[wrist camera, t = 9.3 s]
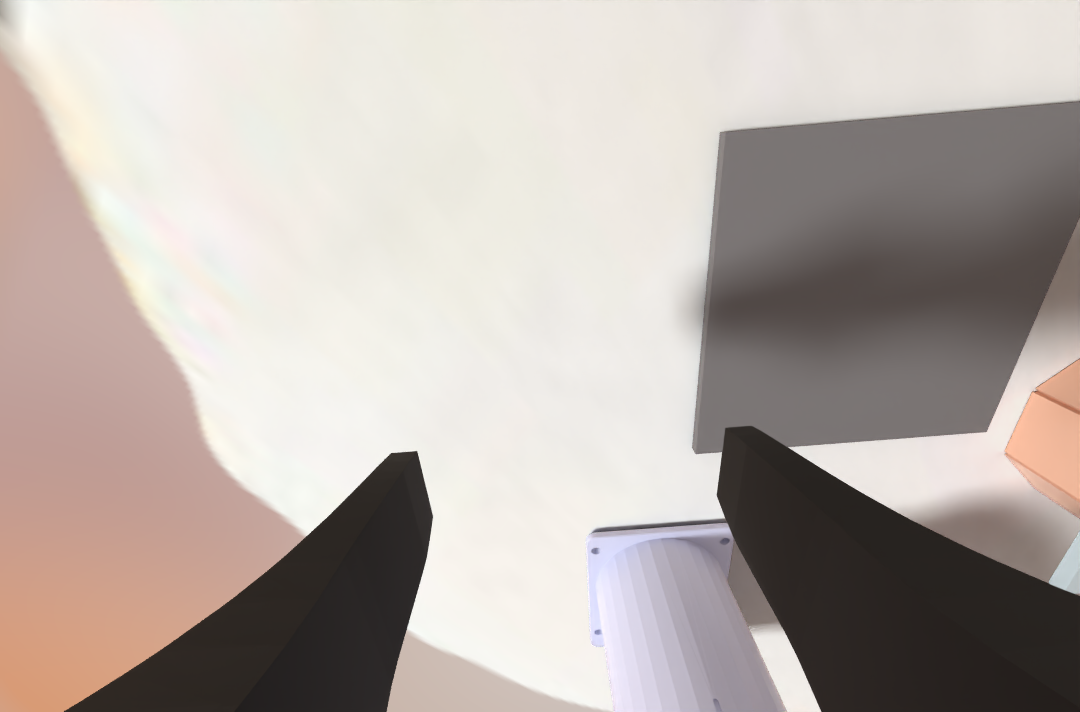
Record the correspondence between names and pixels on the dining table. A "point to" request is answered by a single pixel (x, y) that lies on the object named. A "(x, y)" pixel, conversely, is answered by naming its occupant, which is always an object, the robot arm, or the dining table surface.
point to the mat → (880, 271)
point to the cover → (1069, 569)
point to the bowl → (1051, 439)
